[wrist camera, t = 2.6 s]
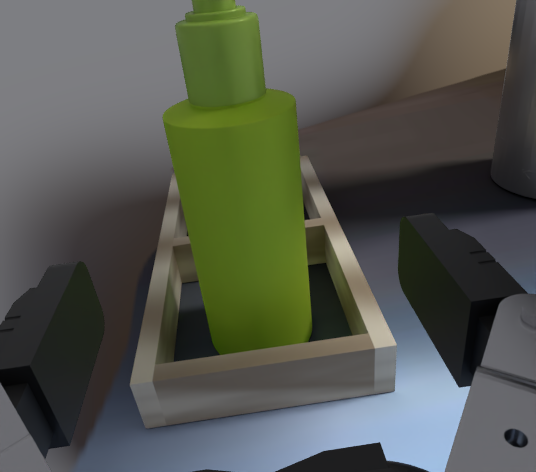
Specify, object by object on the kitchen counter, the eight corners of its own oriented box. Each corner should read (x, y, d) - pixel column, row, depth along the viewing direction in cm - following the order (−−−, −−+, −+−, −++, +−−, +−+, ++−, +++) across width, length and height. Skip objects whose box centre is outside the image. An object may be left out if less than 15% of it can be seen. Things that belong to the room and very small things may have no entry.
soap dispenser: (297, 281, 31) (264, -83, 21) (323, 355, 25) (296, -102, 15) (208, 296, 31) (131, -68, 20) (214, 376, 25) (108, -81, 14)
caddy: (179, 204, 43) (172, 173, 41) (309, 186, 43) (307, 155, 42) (145, 428, 22) (129, 384, 21) (394, 391, 23) (396, 345, 21)
